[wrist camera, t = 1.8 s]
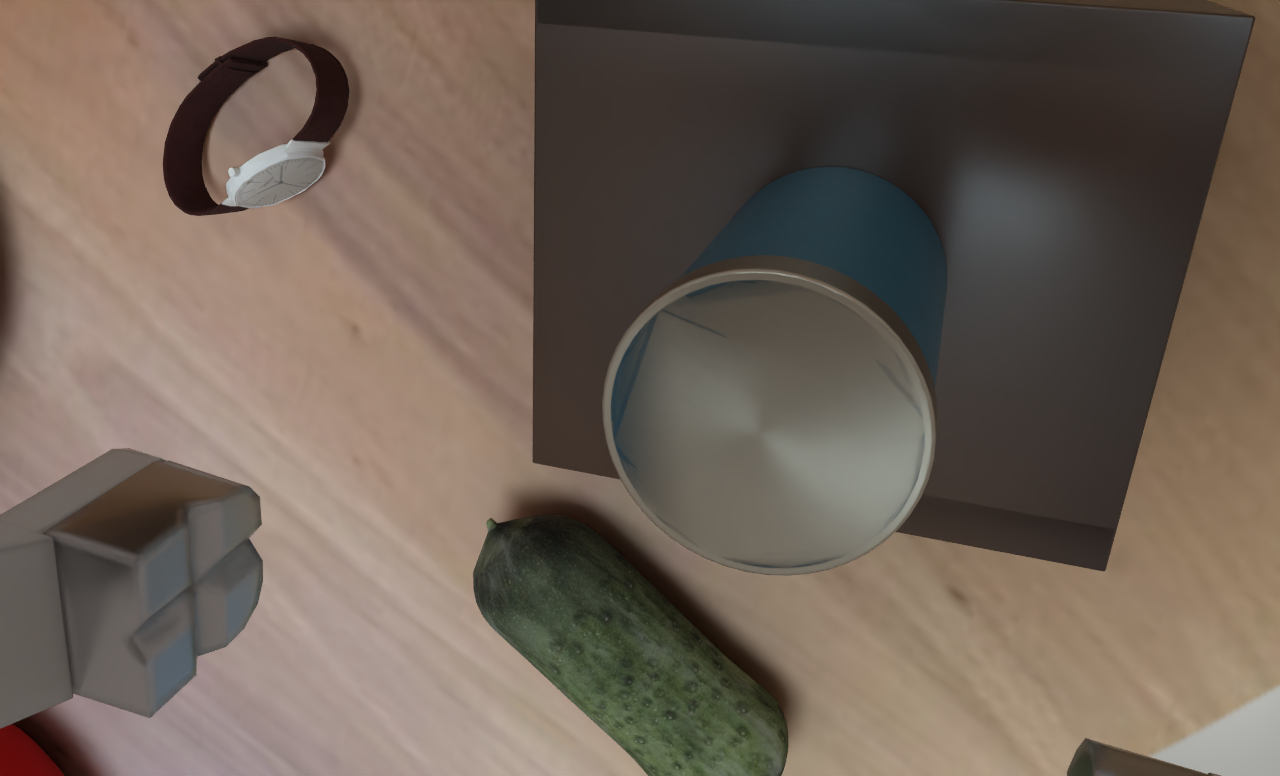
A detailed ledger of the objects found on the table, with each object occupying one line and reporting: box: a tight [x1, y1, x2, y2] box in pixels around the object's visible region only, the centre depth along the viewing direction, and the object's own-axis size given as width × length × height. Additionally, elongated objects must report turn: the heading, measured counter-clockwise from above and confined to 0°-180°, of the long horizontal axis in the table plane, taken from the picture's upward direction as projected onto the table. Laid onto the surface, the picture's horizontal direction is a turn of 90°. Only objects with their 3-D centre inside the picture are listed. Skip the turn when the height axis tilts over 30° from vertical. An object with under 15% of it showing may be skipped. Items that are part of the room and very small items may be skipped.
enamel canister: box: [602, 167, 947, 575], centre depth 20 cm, size 5×5×8 cm
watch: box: [163, 37, 349, 216], centre depth 35 cm, size 8×5×4 cm, turn 127°
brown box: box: [533, 0, 1255, 571], centre depth 27 cm, size 14×12×9 cm
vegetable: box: [473, 515, 788, 776], centre depth 38 cm, size 14×5×5 cm, turn 48°
